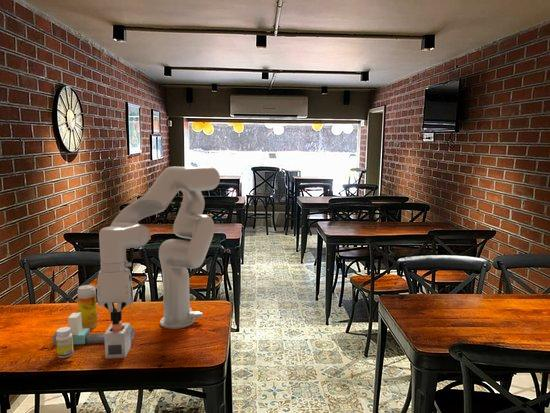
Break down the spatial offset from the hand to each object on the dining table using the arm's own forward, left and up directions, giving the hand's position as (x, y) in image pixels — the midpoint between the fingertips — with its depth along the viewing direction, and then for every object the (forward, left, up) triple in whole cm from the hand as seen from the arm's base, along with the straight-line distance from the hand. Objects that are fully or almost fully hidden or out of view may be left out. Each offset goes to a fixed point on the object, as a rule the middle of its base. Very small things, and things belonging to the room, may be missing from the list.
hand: (116, 322), depth 138 cm
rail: (+10, -9, -10) cm, 17 cm away
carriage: (+16, -9, -10) cm, 21 cm away
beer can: (+16, -22, -10) cm, 29 cm away
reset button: (0, 0, -4) cm, 4 cm away
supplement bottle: (+16, 0, -10) cm, 19 cm away
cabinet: (0, 0, -10) cm, 10 cm away
